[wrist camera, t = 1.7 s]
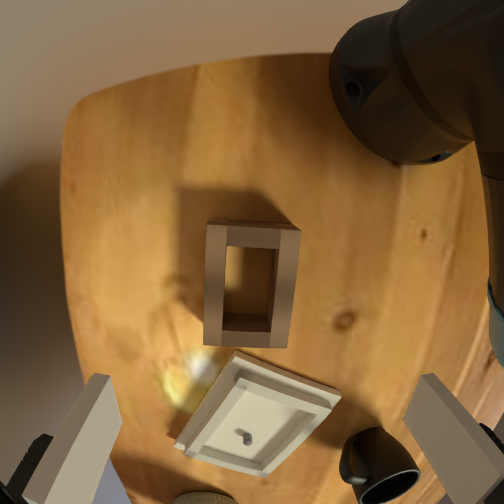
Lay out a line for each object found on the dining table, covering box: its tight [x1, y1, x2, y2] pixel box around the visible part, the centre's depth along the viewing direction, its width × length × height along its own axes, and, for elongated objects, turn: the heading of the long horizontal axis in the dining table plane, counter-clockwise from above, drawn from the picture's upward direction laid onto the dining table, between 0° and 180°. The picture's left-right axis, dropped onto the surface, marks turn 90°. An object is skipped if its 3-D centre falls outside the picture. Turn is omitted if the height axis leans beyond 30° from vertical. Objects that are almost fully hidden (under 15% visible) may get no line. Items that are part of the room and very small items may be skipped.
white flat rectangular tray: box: [174, 350, 342, 478], centre depth 30 cm, size 16×13×3 cm
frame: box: [203, 219, 301, 348], centre depth 25 cm, size 10×7×4 cm
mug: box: [339, 427, 421, 504], centre depth 28 cm, size 8×12×10 cm
